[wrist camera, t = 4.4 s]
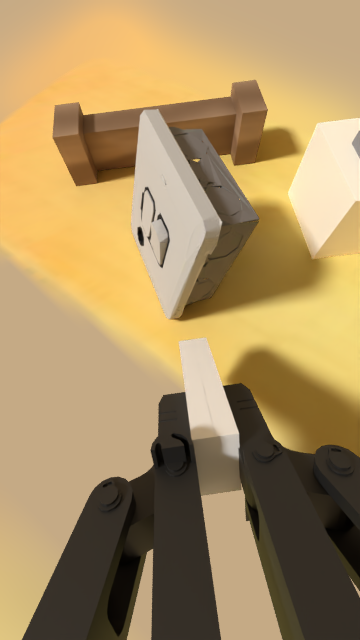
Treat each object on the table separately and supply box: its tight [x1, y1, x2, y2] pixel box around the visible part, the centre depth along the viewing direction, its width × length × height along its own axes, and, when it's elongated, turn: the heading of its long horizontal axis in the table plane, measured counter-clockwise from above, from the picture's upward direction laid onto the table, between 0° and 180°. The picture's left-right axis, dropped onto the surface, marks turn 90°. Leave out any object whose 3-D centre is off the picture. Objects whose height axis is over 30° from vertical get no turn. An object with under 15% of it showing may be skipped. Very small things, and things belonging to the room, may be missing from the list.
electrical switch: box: [131, 109, 259, 319], centre depth 17 cm, size 9×5×9 cm, turn 21°
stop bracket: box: [53, 80, 268, 186], centre depth 23 cm, size 4×17×4 cm, turn 97°
